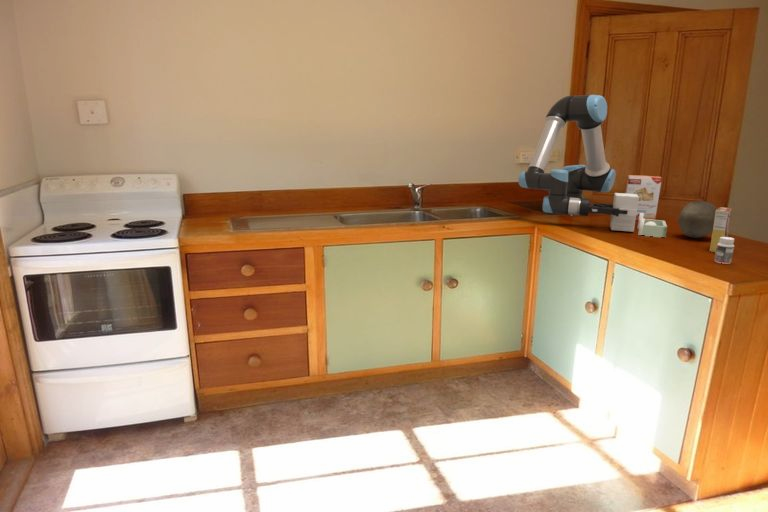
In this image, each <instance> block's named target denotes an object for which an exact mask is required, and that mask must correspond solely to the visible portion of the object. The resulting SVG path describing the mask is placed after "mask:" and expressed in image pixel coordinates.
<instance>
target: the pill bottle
mask: <svg viewBox="0 0 768 512" xmlns="http://www.w3.org/2000/svg"><path fill="white" fill-rule="evenodd" d="M719 241H720V242H719V243H718V244H717V249H716V252H715V254H714V262H715V263H717V264H721V263H722V264H723V265H730V264H731V263H732V259H733V255H734V249H735V245H734V243H735V238H734V237H729V236H727V237H720V240H719ZM722 264H721V265H722Z"/></svg>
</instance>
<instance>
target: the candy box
mask: <svg viewBox="0 0 768 512" xmlns="http://www.w3.org/2000/svg"><path fill="white" fill-rule="evenodd" d="M732 211H733V208H732V207H722V206H721V207H718V208H717V210H716V212H715V219H714V225H713V231H712V232H711V240H710V246H709V252H710V251H711V252H710V253H716V249H717V244H718V243H719V242H720V241H719V240H720V237H729V236H728V235H729V229H730V224H731V217H732Z"/></svg>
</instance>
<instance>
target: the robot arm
mask: <svg viewBox="0 0 768 512" xmlns="http://www.w3.org/2000/svg"><path fill="white" fill-rule="evenodd" d="M607 114H608V103H607V100H606V99H605V97H604V96H602V95H600V94H598V95H597V94H588V95H587V94H586V95H584V94H583V95H573V94H572V95H567V96H566V95H565V96H564V97H562V98H560V99H559V100H558V101H556V102H555V103H554V104H553V105H552V106H551V108H550V109H549V110H548V112H547V114H546V116H545V118H544V123H545V125H544V128H543V129H542V132H541V135H540V138H539V140H538V143H537V145H536V147H535V150H534V153H533V154H532V158H531V161H530V163H529V166H528V168H527V170H526V171H521V172H520V173H519V175H518V185H519V187H521V188H524V189H531V190H532V189H533V190H540V191H541V190H544V191H548V195H545V196H544V197H543V201H542V211H543V212H544V213H547V214H548V213H549V214H555V215H556V214H558V215H570V216H571V217H573V216H578V215H579V216H583V217H588V216H589V213H590V212H591V213H592V214H600V215H609V216H611V215H615V216H616V217H618V215H627V216H636V212H637V209H624V208H620V209H618V208H613V203H602V202H601V203H599V202H594V203H591V199H590V198H584V196H583V194H584V191H585V192H586V191H587V192H596V193H609V192H610V191H611V190H612V188H613V187H614V183H615V181H616V176H617V173H616V170H615V169H613V168H611V166H610V164H609V162H607V161H606V152H605V148H604V141H603V140H604V139H603V133H602V132H603V131H602V125H603V123H604V121H605V120H606V119H607ZM568 122H576V126H577V129H578V130H581V136H582V142H583V143H582V144H583V147H584V148H583V149H584V154H585V160H586V164H574V165H566V166H563V167H562V169H560V168H559V169H555V168H554V169H551V170H550V172H545V171H546V169H547V166H548V164H549V162H550V159H551V157H552V153H553V151H554V148H555V145H556V143H557V140H558V138H559V135H560V133H561V131H562V129H563V128H565V126H566V123H568Z"/></svg>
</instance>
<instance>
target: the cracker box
mask: <svg viewBox="0 0 768 512" xmlns="http://www.w3.org/2000/svg"><path fill="white" fill-rule="evenodd" d="M662 179H663V178H662V177H661V176H655V175H654V176H652V175H634V174H632V175H631V174H628V175H627V180H626V189H625V193H626V194H637V195H638V197H639V200H638V207H637V214H636V220H635V221H638V222H639V215H640V213H644V216H643V218H644V219H652V220H656V218H657V211H658V204H659V198H660V192H661V186H662Z"/></svg>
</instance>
